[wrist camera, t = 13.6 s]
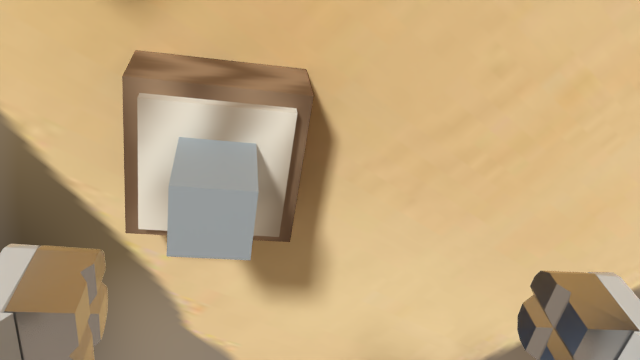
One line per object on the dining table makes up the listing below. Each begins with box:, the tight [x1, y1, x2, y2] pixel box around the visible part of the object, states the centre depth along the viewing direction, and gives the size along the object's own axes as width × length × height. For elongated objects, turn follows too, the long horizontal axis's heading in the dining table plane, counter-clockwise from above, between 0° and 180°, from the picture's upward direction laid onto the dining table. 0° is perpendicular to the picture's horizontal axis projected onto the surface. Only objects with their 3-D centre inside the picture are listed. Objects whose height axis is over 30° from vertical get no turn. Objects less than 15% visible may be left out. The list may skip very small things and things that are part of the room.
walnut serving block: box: [122, 50, 314, 242], centre depth 40 cm, size 12×12×6 cm
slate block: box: [167, 137, 259, 260], centre depth 35 cm, size 5×5×6 cm
